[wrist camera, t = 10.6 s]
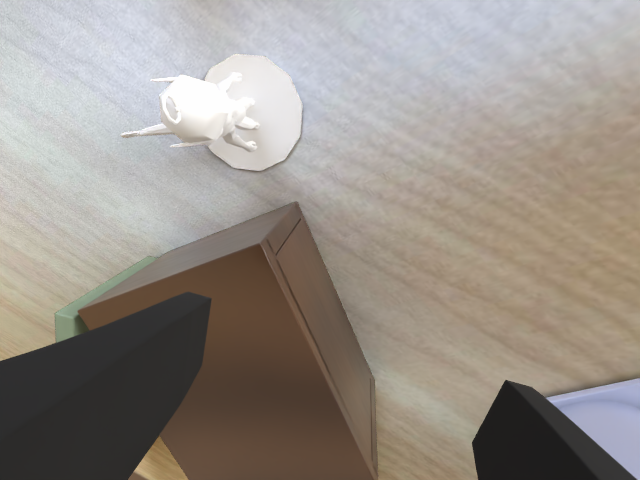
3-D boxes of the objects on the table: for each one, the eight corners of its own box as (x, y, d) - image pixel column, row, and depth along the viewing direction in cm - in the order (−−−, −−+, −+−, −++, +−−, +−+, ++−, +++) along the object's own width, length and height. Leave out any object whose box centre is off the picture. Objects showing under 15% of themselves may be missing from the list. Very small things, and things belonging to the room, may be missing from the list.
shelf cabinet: (374, 380, 20) (379, 491, 14) (256, 409, 22) (214, 519, 16) (297, 200, 17) (260, 242, 11) (168, 251, 19) (75, 311, 13)
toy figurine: (312, 162, 17) (275, 189, 10) (163, 186, 18) (37, 225, 11) (292, 41, 15) (229, -30, 8) (130, 77, 16) (-42, 43, 9)
